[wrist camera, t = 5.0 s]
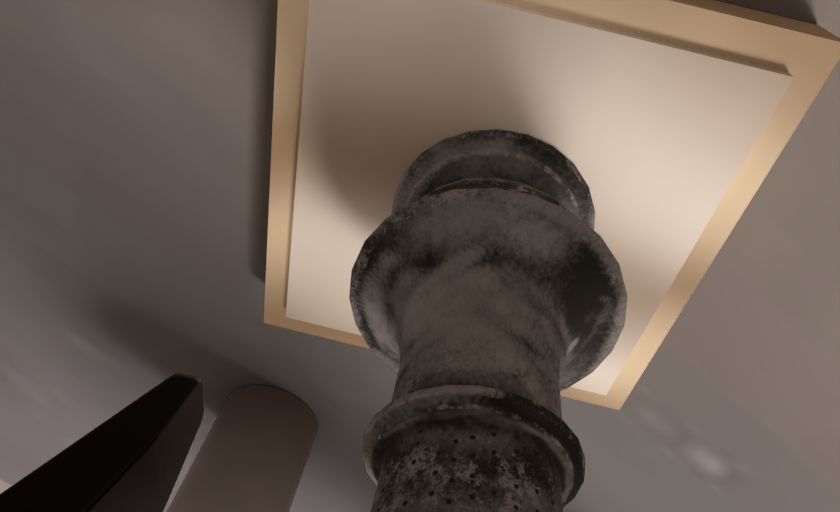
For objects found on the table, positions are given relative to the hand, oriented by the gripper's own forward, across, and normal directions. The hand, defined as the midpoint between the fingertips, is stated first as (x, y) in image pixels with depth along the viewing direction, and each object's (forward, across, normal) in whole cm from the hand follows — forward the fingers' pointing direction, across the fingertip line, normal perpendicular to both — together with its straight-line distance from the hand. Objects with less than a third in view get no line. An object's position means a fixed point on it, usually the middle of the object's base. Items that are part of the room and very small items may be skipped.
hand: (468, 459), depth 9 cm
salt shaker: (+8, 0, 0) cm, 8 cm away
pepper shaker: (+9, +6, +13) cm, 17 cm away
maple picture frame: (+9, 0, 0) cm, 9 cm away
